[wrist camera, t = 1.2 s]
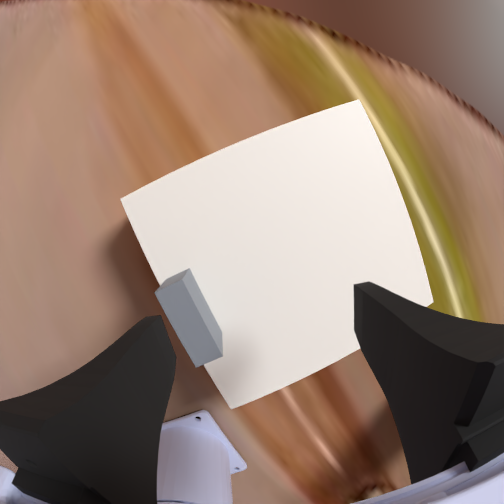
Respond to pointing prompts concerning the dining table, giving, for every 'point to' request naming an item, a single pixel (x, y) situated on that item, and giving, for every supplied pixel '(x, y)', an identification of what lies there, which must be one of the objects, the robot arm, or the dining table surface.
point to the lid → (277, 249)
